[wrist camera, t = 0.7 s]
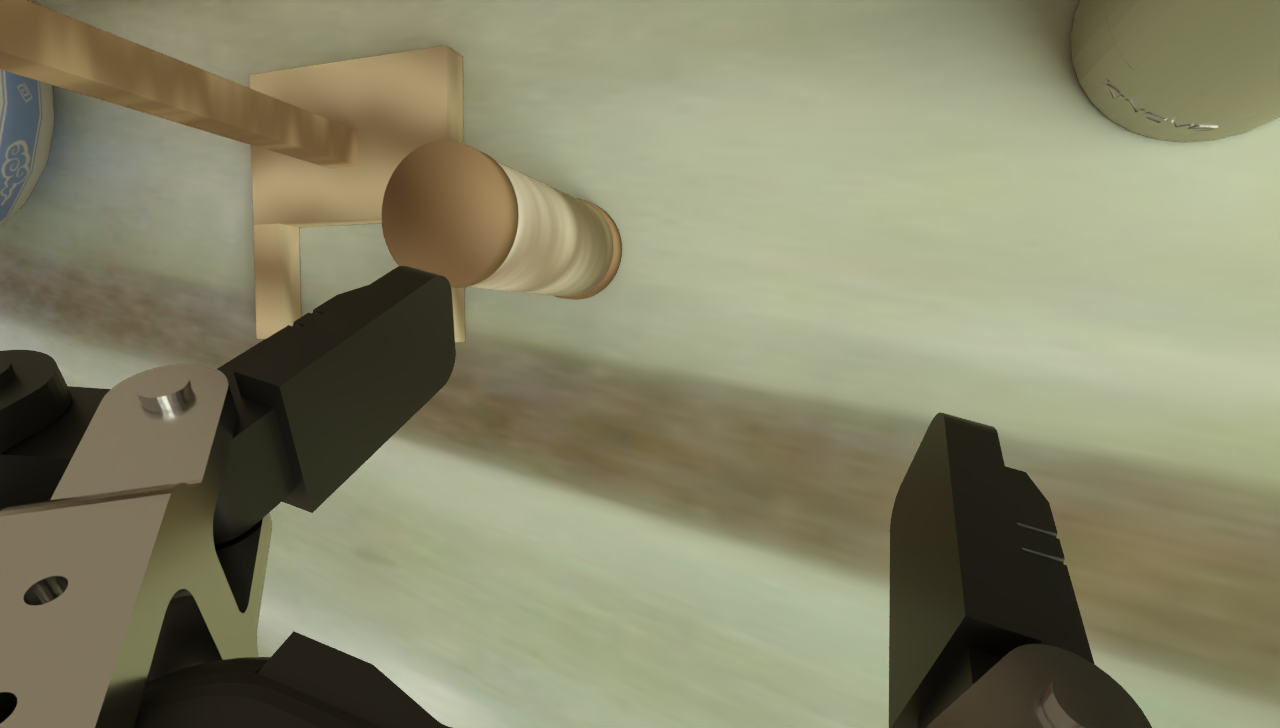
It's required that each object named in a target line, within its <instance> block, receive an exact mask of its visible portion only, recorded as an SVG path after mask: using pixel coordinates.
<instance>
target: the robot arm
mask: <svg viewBox="0 0 1280 728" xmlns="http://www.w3.org/2000/svg"><path fill="white" fill-rule="evenodd" d="M1071 52H1072V62H1073V65H1074V68H1075V71H1076V75H1077V78H1078V81H1079V83H1080V85H1081V86H1082V88H1083V90H1084V91H1085V93H1086V94H1087V96H1088V97H1089V99H1090V101H1091V102H1092V103H1093V104H1094V105H1095V106H1096V107H1097V108H1098V109H1099V110H1100V111H1101V112H1102V113H1104V114H1105V115H1106V116H1107V117H1108V118H1109V119H1111V120H1112V121H1114V122H1116V123H1118V124H1119V125H1121V126H1123V127H1125V128H1126V129H1128V130H1130V131H1132V132H1135V133H1138V134H1142V135H1145V136H1148V137H1151V138H1154V139H1159V140H1168V141H1177V142H1195V141H1210V140H1217V139H1221V138H1225V137H1229V136H1233V135H1237V134H1242V133H1245V132H1247V131H1250V130H1252V129H1254V128H1257V127H1259V126H1261V125H1264V124H1266V123H1268V122H1271V121H1273V120H1275V119H1277V118H1279V117H1280V0H1080V2H1079V4H1078V7H1077V9H1076V12H1075V15H1074V21H1073V27H1072V32H1071ZM455 355H456V351H455V335H454V319H453V303H452V290H451V285H450V283H449V281H448V279H447V278H446V277H444V276H441V275H438V274H434V273H430V272H427V271H423V270H419V269H416V268H412V267H408V266H399V267H397V268H395V269H394V270H392V271H391V272H389V273H387V274H386V275H384V276H383V277H381V278H379V279H378V280H376V281H375V282H373V283H372V284H370V285H367V286H364V287H361V288H358V289H355V290H352V291H348V292H345V293H342V294H339V295H337V296H335V297H333V298H332V299H330V300H328V301H327V302H325V303H324V304H322V305H320V306H319V307H317V308H315V309H314V310H313V313H312V314H311V313H307V314H306V315H304V316H302V317H301V318H299V319H297V320H296V321H294V323H293V326H290V325H288V326H286V327H284V328H283V329H281V330H280V331H278V332H276V333H275V334H273V335H271V336H270V337H268V338H267V339H265V340H263V341H262V342H260V343H258V344H257V345H255V346H254V347H252V348H250V349H249V350H247V351H245V352H244V353H242V354H241V355H239V356H237V357H236V358H234V359H232V360H231V361H229V362H228V363H226V364H224V365H223V366H221V367H219V368H218V369H215V368H213V367H210V366H206V365H200V364H175V365H167V366H162V367H157V368H154V369H150V370H147V371H144V372H141V373H138V374H136V375H134V376H132V377H129V378H127V379H126V380H124V381H122V382H120V383H119V384H117V385H116V386H115V387H113V388H112V389H98V388H83V387H69V386H67V384H66V382H65V380H64V378H63V376H62V374H61V372H60V370H59V368H58V366H57V364H56V362H55V361H54V359H53V358H52V357H50V356H49V355H47V354H44V353H41V352H37V351H30V350H7V351H0V728H451V727H447V726H445V725H443V724H441V723H440V722H438V721H437V720H436V719H434V718H433V717H432V716H431V715H430V714H429V713H427V712H426V711H425V710H424V709H423V708H422V707H421V706H419V705H418V704H417V703H416V702H415V701H414V700H413V699H411V698H410V697H409V696H408V695H407V694H406V693H405V692H403V691H402V690H401V689H400V688H399V687H398V686H397V685H395V684H394V683H393V682H392V681H391V680H390V679H389V678H387V677H386V676H385V675H384V674H383V673H382V672H380V671H379V670H378V669H377V668H376V667H375V666H374V665H372V664H370V663H368V662H365V661H363V660H360V659H358V658H356V657H353V656H351V655H349V654H346V653H344V652H341V651H339V650H337V649H334V648H332V647H329V646H327V645H325V644H322V643H320V642H318V641H315V640H313V639H310V638H308V637H306V636H303V635H301V634H299V633H296V632H293V633H292V634H291V635H290V636H289V637H288V639H287V640H286V641H285V642H284V643H283V644H282V645H281V646H280V648H279V649H278V650H277V651H276V652H275V653H274V654H273V656H272V657H259V656H258V649H257V627H258V620H259V613H260V607H261V600H262V593H263V587H264V580H265V573H266V567H267V560H268V553H269V547H270V540H271V533H272V520H271V517H270V513H269V512H270V511H271V510H272V509H273V508H275V507H276V506H277V505H278V504H279V503H280V502H281V501H282V502H285V503H287V504H290V505H293V506H295V507H298V508H301V509H303V510H306V511H309V512H312V513H313V512H314V511H315V510H316V509H317V508H318V507H319V506H320V505H321V504H322V503H323V502H324V501H325V500H326V499H327V498H328V497H329V496H330V495H331V494H332V493H333V492H334V491H335V490H336V489H337V488H338V487H340V486H341V485H342V484H343V483H344V482H345V481H346V480H347V479H348V478H349V477H350V476H351V475H352V474H353V473H354V472H355V471H356V470H357V469H358V468H359V467H360V466H361V465H362V464H363V463H364V462H365V461H367V460H368V459H369V458H370V457H371V456H372V455H373V454H374V453H375V452H376V451H377V450H378V449H379V448H380V447H381V446H382V445H383V444H384V443H385V442H386V441H387V440H388V439H389V438H390V437H391V436H392V435H394V434H395V433H396V432H397V431H398V430H399V429H400V428H401V427H402V426H403V425H404V424H405V423H406V422H407V421H408V420H409V419H410V418H411V417H412V416H413V415H414V414H415V413H416V412H417V411H418V410H420V409H421V408H422V407H423V406H424V405H425V404H426V403H427V402H428V401H429V400H430V399H431V398H432V397H433V396H434V395H435V394H436V393H437V392H438V391H439V390H440V389H441V388H442V387H443V386H444V385H445V384H446V382H447V381H448V379H449V377H450V375H451V373H452V370H453V367H454V363H455ZM1056 535H1057V530H1056V526H1055V522H1054V519H1053V515H1052V512H1051V508H1050V505H1049V502H1048V501H1047V499H1046V498H1045V497H1044V496H1043V494H1042V493H1041V492H1040V490H1039V489H1038V488H1037V486H1036V485H1035V484H1034V483H1033V481H1032V480H1031V479H1030V477H1029V476H1028V475H1027V473H1026V472H1023V471H1019V470H1016V469H1012V468H1009V467H1005V466H1004V461H1003V456H1002V452H1001V447H1000V442H999V438H998V433H997V430H996V429H995V428H994V427H992V426H988V425H985V424H981V423H977V422H974V421H970V420H966V419H962V418H959V417H955V416H951V415H948V414H944V413H938V414H937V415H936V416H935V417H934V418H933V420H932V422H931V423H930V425H929V427H928V429H927V432H926V434H925V436H924V438H923V440H922V442H921V444H920V446H919V448H918V450H917V452H916V455H915V457H914V459H913V461H912V463H911V465H910V467H909V469H908V471H907V473H906V475H905V478H904V480H903V482H902V484H901V486H900V488H899V491H898V493H897V496H896V499H895V503H894V507H893V511H892V517H891V524H890V637H889V728H1152V727H1151V725H1150V723H1149V721H1148V719H1147V718H1146V716H1145V715H1144V713H1143V711H1142V710H1141V709H1140V707H1139V706H1138V705H1137V703H1136V702H1135V701H1134V700H1133V698H1132V697H1131V696H1130V695H1129V694H1128V693H1127V692H1126V691H1125V690H1124V689H1123V688H1122V686H1121V685H1119V684H1118V683H1117V682H1116V681H1115V680H1114V679H1113V678H1111V677H1110V676H1109V675H1108V674H1107V673H1105V672H1104V671H1103V670H1101V669H1100V668H1098V667H1097V666H1096V665H1094V661H1093V657H1092V654H1091V650H1090V647H1089V643H1088V640H1087V636H1086V633H1085V629H1084V625H1083V622H1082V618H1081V615H1080V611H1079V608H1078V604H1077V601H1076V597H1075V593H1074V590H1073V586H1072V583H1071V579H1070V576H1069V572H1068V569H1067V565H1064V564H1063V562H1064V559H1065V558H1064V554H1063V551H1062V547H1061V544H1060V540H1059V539H1057V538H1056Z"/></svg>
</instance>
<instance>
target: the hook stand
mask: <svg viewBox="0 0 1280 728" xmlns="http://www.w3.org/2000/svg"><path fill="white" fill-rule="evenodd" d="M0 69H1V70H4V71H8V72H11V73H14V74H18V75H21V76H24V77H28V78H31V79H34V80H38V81H41V82H44V83H48V84H51V85H54V86H58V87H61V88H64V89H68V90H71V91H74V92H77V93H81V94H84V95H87V96H91V97H94V98H97V99H101V100H104V101H107V102H111V103H114V104H117V105H121V106H124V107H127V108H131V109H134V110H137V111H141V112H144V113H147V114H151V115H154V116H157V117H160V118H164V119H167V120H170V121H174V122H177V123H180V124H184V125H187V126H190V127H194V128H197V129H200V130H204V131H207V132H210V133H214V134H217V135H220V136H224V137H227V138H230V139H233V140H237V141H240V142H243V143H247V144H250V145H251V149H252V185H253V222H254V258H255V295H256V331H257V339H267V338H268V337H270V336H271V335H273V334H275V333H276V332H278V331H280V330H281V329H283V328H284V327H286V326H288V325H290V326H293V323H294V321H296V320H297V319H299V318H301V295H300V252H299V227H312V226H332V225H352V224H372V223H382V203H383V197H384V193H385V190H386V187H387V184H388V182H389V179H390V177H391V176H392V174H393V172H394V170H395V169H396V167H397V166H398V165H399V163H400V162H401V161H402V160H403V159H404V158H405V157H406V156H407V155H408V154H409V153H411V152H412V151H413V150H415V149H416V148H418V147H420V146H422V145H424V144H427V143H430V142H434V141H439V140H450V141H457V142H460V143H463V56H461V55H460V54H458V53H457V52H455V51H454V50H453V49H451V48H450V47H448V46H447V45H446V46H440V47H433V48H426V49H419V50H413V51H406V52H399V53H393V54H386V55H379V56H373V57H366V58H359V59H352V60H346V61H339V62H332V63H326V64H319V65H312V66H306V67H299V68H292V69H286V70H279V71H272V72H265V73H259V74H252V75H249V76H250V88H248V87H245V86H243V85H240V84H238V83H235V82H233V81H230V80H228V79H225V78H222V77H220V76H217V75H215V74H212V73H210V72H207V71H205V70H202V69H200V68H197V67H195V66H192V65H189V64H187V63H184V62H182V61H179V60H177V59H174V58H172V57H169V56H167V55H164V54H162V53H159V52H156V51H154V50H151V49H149V48H146V47H144V46H141V45H139V44H136V43H134V42H131V41H129V40H126V39H124V38H121V37H118V36H116V35H113V34H111V33H108V32H106V31H103V30H101V29H98V28H96V27H93V26H91V25H88V24H85V23H83V22H80V21H78V20H75V19H73V18H70V17H68V16H65V15H63V14H60V13H58V12H55V11H52V10H50V9H47V8H45V7H42V6H40V5H37V4H35V3H32V2H30V1H27V0H0ZM451 290H452V303H453V319H454V335H455V342H465V294H464V287H461V288H453V287H451Z"/></svg>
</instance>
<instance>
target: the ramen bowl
mask: <svg viewBox="0 0 1280 728" xmlns="http://www.w3.org/2000/svg"><path fill="white" fill-rule="evenodd" d="M54 123H55V120H54V105H53V90H52V85H51V84H48V83H44V82H41V81H38V80H34V79H31V78H28V77H24V76H21V75H18V74H14V73H11V72H8V71H4V70H1V69H0V225H1V224H3V223H4V222H5V221H6V220H7V219H9V218H10V217H11V216H12V215H13V214H14V213H16V212H17V211H18V210H19V209H20V208H21V207H22V206H23V205H24V203H25V202H26V201H27V199H28V198H29V196H30V195H31V193H32V191H33V189H34V187H35V185H36V183H37V182H38V180H39V178H40V176H41V174H42V172H43V170H44V168H45V166H46V165H47V161H48V156H49V150H50V145H51V139H52V134H53V128H54Z"/></svg>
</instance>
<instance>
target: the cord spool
mask: <svg viewBox="0 0 1280 728" xmlns="http://www.w3.org/2000/svg"><path fill="white" fill-rule="evenodd" d="M382 228H383V234H384V238H385V241H386V244H387V247H388V249H389V251H390V253H391V255H392V257H393V258H394V260H395V261H396V263H397V264H398V265H399V266H408V267H412V268H416V269H419V270H423V271H427V272H430V273H434V274H438V275H441V276H444V277H446V278H447V279H448V281H449V283H450V285H451V287H453V288H461V287H477V288H487V289H497V290H506V291H516V292H526V293H535V294H545V295H553V296H556V297H559V298H565V299H584V298H588V297H591V296H594V295H596V294H597V293H599V292H601V291H602V290H603V289H604V288H605V287H607V286H608V285H609V283H610V282H611V281H612V280H613V278H614V276H615V275H616V273H617V270H618V268H619V265H620V262H621V256H622V242H621V237H620V233H619V230H618V228H617V226H616V224H615V222H614V221H613V219H612V218H611V217H610V216H609V215H608V214H607V213H606V212H605V211H604V210H603V209H601V208H600V207H598V206H596V205H594V204H591V203H589V202H587V201H584V200H581V199H576V198H574V197H572V196H569V195H567V194H565V193H563V192H561V191H559V190H556V189H554V188H552V187H550V186H548V185H546V184H543V183H541V182H539V181H537V180H535V179H533V178H530V177H528V176H526V175H524V174H522V173H520V172H517V171H515V170H513V169H511V168H509V167H506V166H504V165H502V164H500V163H498V162H496V161H495V160H494V159H493V158H491V157H490V156H488V155H487V154H485V153H483V152H480V151H478V150H476V149H474V148H472V147H470V146H468V145H466V144H463V143H460V142H457V141H450V140H439V141H434V142H430V143H427V144H424V145H422V146H420V147H418V148H416V149H415V150H413V151H412V152H411V153H409V154H408V155H407V156H406V157H405V158H404V159H403V160H402V161H401V162H400V163H399V165H398V166H397V167H396V169H395V170H394V172H393V174H392V176H391V177H390V179H389V182H388V184H387V187H386V190H385V193H384V197H383V203H382Z"/></svg>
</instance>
